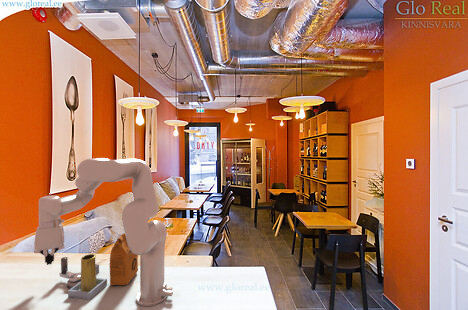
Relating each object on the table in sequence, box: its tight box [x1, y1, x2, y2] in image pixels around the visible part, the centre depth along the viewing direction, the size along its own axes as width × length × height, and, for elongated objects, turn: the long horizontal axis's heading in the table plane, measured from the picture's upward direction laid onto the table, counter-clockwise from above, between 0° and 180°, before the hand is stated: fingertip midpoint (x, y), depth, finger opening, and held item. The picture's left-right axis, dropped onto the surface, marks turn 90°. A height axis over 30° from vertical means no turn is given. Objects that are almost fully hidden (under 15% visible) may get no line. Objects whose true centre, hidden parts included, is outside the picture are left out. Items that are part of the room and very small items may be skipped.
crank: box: [59, 256, 81, 283], centre depth 102 cm, size 12×6×8 cm, turn 72°
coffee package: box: [109, 232, 139, 286], centre depth 105 cm, size 10×12×22 cm
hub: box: [66, 279, 81, 290], centre depth 101 cm, size 7×7×2 cm
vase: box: [80, 253, 97, 292], centre depth 96 cm, size 6×6×14 cm
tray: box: [67, 277, 108, 301], centre depth 96 cm, size 10×10×3 cm
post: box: [95, 263, 100, 275], centre depth 110 cm, size 2×2×4 cm
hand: (49, 263), depth 101 cm, fingers closed
